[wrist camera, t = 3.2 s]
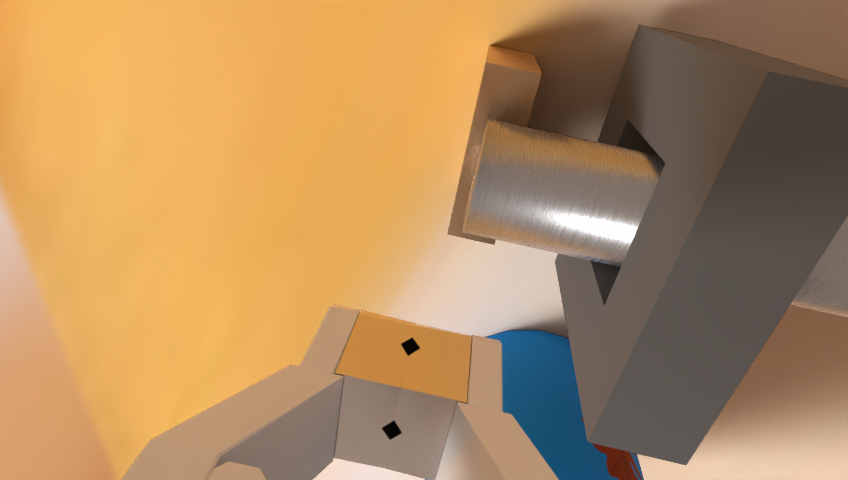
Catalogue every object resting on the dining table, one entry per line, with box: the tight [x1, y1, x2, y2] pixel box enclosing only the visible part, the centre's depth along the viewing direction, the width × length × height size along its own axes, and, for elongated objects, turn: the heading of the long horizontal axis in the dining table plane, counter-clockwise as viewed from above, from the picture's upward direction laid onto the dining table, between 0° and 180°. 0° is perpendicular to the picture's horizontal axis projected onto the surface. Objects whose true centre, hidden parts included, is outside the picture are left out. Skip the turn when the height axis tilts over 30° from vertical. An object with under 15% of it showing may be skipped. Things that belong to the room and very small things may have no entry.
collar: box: [555, 25, 848, 465], centre depth 17 cm, size 11×3×11 cm, turn 170°
